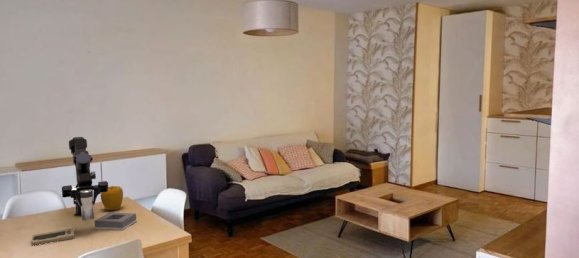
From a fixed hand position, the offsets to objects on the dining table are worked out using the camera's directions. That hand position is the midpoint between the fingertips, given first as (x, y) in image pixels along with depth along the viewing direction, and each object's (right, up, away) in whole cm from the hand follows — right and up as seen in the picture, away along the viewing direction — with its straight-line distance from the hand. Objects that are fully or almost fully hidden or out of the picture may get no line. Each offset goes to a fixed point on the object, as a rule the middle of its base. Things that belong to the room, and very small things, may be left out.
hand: (87, 205), depth 182 cm
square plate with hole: (+7, -12, +13) cm, 19 cm away
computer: (-13, -15, -4) cm, 20 cm away
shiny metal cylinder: (-1, -6, +2) cm, 7 cm away
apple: (-5, -10, +38) cm, 40 cm away
